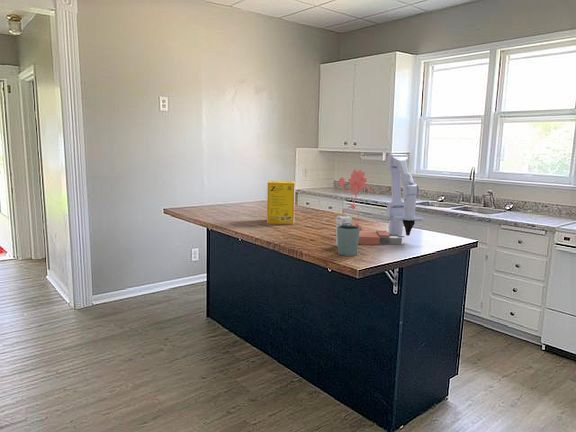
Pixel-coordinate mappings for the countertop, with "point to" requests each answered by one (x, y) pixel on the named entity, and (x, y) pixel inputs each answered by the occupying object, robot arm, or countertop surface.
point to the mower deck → (378, 238)
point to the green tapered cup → (348, 239)
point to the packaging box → (280, 202)
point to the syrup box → (342, 223)
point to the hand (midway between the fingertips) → (407, 235)
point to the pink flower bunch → (355, 186)
